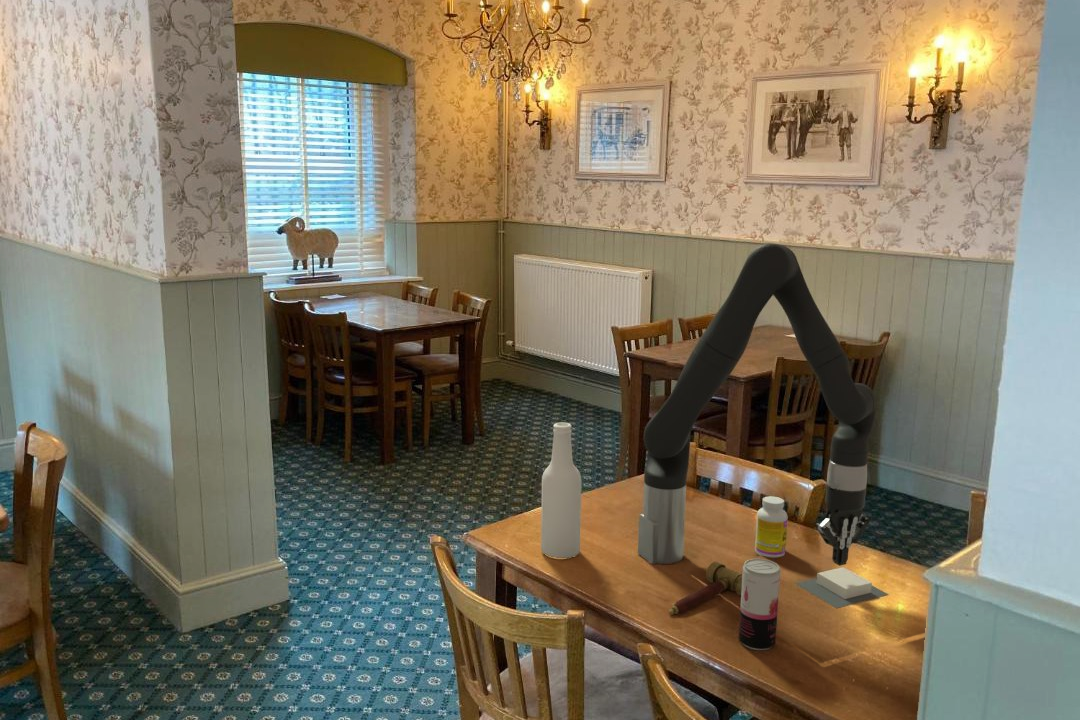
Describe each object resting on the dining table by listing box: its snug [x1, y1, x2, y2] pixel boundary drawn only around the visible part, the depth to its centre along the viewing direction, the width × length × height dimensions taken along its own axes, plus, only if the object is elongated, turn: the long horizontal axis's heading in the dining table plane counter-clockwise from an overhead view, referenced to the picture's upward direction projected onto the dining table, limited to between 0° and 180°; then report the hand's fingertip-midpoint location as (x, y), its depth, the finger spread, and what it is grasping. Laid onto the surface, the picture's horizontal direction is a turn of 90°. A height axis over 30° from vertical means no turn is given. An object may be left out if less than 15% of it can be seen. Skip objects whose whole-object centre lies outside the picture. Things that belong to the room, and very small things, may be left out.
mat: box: [794, 577, 890, 609], centre depth 183 cm, size 14×12×1 cm
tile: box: [816, 567, 873, 599], centre depth 183 cm, size 2×8×7 cm
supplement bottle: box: [754, 495, 788, 558], centre depth 199 cm, size 7×7×13 cm
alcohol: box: [540, 421, 582, 558], centre depth 197 cm, size 9×9×30 cm
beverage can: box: [738, 558, 781, 651], centre depth 161 cm, size 7×7×15 cm
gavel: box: [668, 561, 743, 616], centre depth 178 cm, size 21×5×10 cm
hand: (839, 563), depth 181 cm, fingers closed
